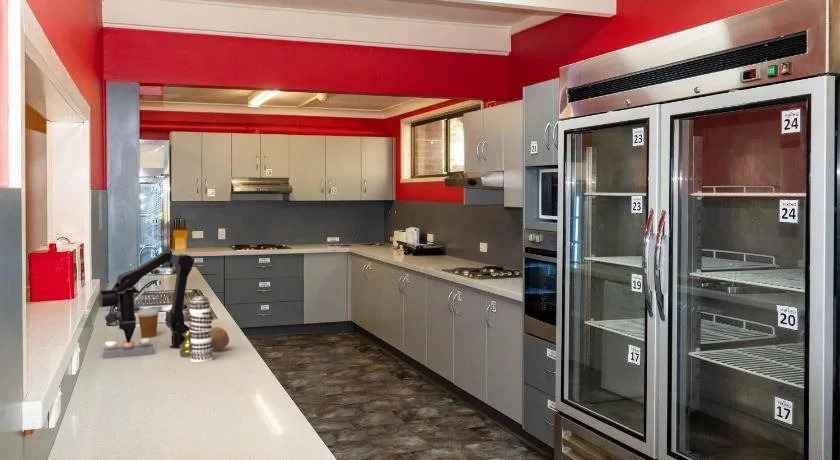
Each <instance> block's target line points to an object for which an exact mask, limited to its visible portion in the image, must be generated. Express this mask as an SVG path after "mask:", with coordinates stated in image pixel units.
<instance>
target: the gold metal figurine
mask: <svg viewBox="0 0 840 460" xmlns="http://www.w3.org/2000/svg"><path fill="white" fill-rule="evenodd" d="M182 335H183V336H184V337H185V341H184V342H183V343H182V344H180V348H179V349H180V350H179V356H180V357H181V358H191V357H190V356H191V353H190V351H191V350H192V349H190V347H191V345H190V343H191V332H190V330H189V331H186V332H184V333H183V334H182Z"/></svg>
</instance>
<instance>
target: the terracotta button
mask: <svg viewBox="0 0 840 460" xmlns="http://www.w3.org/2000/svg"><path fill="white" fill-rule="evenodd" d="M134 346H135V342H134V341H133V340H131V341H130V342H128V343H127V340H126V341H123V342H122V347H123V348H133V347H134Z"/></svg>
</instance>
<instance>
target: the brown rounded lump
mask: <svg viewBox="0 0 840 460" xmlns="http://www.w3.org/2000/svg"><path fill="white" fill-rule="evenodd" d="M211 341H212V344H211V345H212V348H211V349H212V350H214V351H216V352H220V351H222V350H223V349H224V348H225V347H227V346H228V345H229V343H230V337H229V335H228V333H227V331H226V330H225V329H224V328H222V327H221V326H220V327H219V326H214V327H212V330H211Z"/></svg>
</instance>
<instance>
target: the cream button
mask: <svg viewBox="0 0 840 460" xmlns="http://www.w3.org/2000/svg"><path fill="white" fill-rule="evenodd" d="M104 343H105V345H104V346H105V347H104V348H112V347H118V340H115V339H113V340H106V341H105V342H104Z"/></svg>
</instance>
